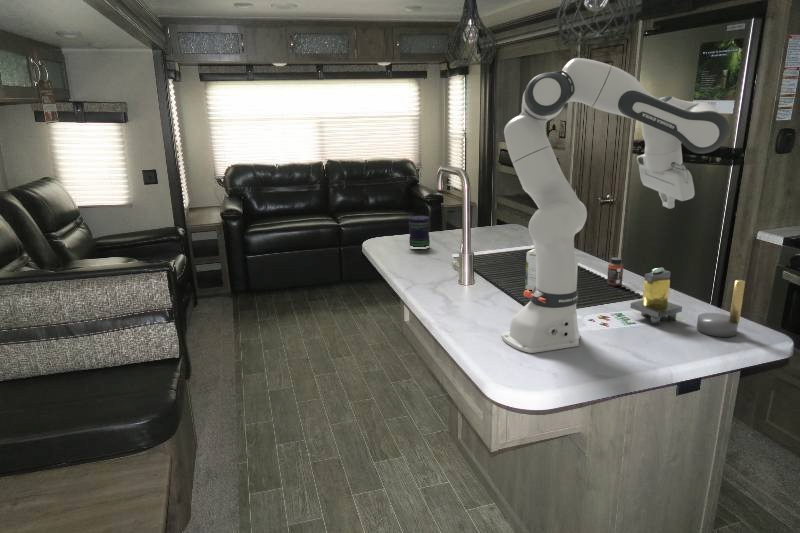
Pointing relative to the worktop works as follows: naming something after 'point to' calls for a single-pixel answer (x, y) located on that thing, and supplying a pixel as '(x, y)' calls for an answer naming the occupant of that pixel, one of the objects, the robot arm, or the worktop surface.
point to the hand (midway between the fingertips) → (668, 206)
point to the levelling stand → (657, 297)
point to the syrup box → (530, 270)
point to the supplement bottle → (615, 272)
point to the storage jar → (419, 231)
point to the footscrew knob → (723, 316)
